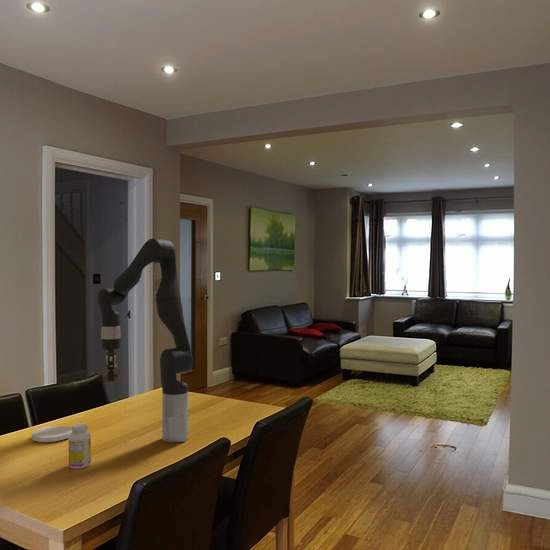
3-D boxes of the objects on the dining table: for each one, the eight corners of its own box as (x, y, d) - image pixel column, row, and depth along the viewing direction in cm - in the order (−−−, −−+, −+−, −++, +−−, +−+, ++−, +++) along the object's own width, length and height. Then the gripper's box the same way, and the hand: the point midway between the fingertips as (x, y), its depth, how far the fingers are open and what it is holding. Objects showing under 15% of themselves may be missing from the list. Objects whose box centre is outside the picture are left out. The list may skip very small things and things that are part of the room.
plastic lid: (72, 430, 206) (72, 424, 206) (72, 442, 193) (72, 435, 193) (32, 434, 201) (32, 428, 201) (30, 446, 188) (30, 439, 188)
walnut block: (117, 381, 216) (117, 366, 216) (104, 382, 214) (104, 367, 214) (117, 378, 221) (117, 364, 220) (104, 379, 219) (104, 364, 219)
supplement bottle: (83, 460, 174) (83, 421, 174) (95, 465, 170) (95, 425, 170) (64, 466, 169) (64, 425, 169) (75, 471, 165) (75, 429, 164)
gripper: (120, 339, 211) (120, 382, 212) (120, 334, 225) (120, 375, 225) (100, 339, 209) (101, 383, 209) (101, 335, 223) (101, 376, 223)
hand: (111, 378), depth 217 cm, fingers closed on walnut block, 5 cm apart
